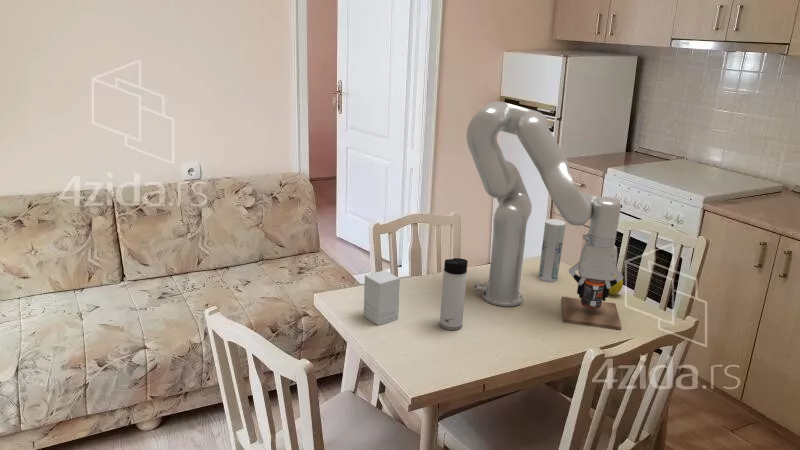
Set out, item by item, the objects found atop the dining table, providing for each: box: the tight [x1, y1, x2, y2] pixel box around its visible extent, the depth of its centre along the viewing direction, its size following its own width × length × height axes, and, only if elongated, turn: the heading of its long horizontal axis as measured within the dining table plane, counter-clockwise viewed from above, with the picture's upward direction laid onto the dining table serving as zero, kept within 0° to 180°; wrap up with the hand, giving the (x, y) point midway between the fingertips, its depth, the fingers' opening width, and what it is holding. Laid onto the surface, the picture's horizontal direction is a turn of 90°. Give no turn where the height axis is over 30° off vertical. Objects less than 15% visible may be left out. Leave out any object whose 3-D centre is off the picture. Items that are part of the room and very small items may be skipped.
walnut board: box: [561, 296, 622, 331], centre depth 190 cm, size 16×16×1 cm
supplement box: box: [363, 270, 401, 326], centre depth 179 cm, size 7×7×13 cm
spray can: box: [538, 218, 567, 283], centre depth 212 cm, size 6×6×20 cm
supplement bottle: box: [580, 278, 605, 309], centre depth 188 cm, size 6×6×11 cm
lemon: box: [605, 275, 624, 296], centre depth 203 cm, size 6×6×8 cm
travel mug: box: [439, 257, 469, 331], centre depth 175 cm, size 6×7×20 cm
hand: (591, 297), depth 189 cm, fingers closed on supplement bottle, 6 cm apart
